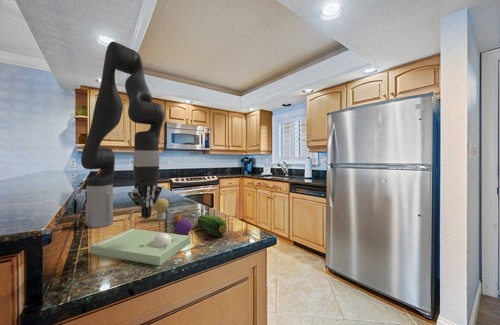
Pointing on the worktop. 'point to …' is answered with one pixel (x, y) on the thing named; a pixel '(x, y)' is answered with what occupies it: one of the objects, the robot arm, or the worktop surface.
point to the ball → (162, 240)
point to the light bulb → (161, 208)
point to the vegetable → (212, 224)
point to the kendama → (182, 225)
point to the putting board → (139, 246)
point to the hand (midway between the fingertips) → (146, 217)
